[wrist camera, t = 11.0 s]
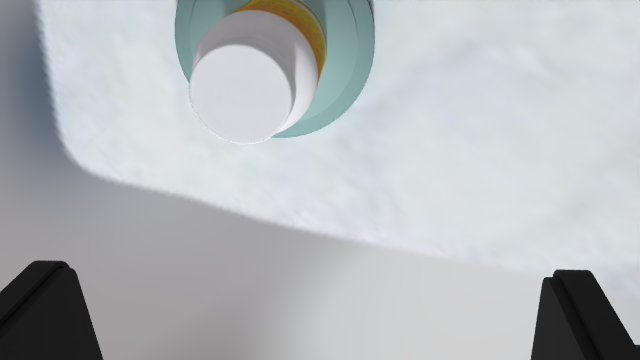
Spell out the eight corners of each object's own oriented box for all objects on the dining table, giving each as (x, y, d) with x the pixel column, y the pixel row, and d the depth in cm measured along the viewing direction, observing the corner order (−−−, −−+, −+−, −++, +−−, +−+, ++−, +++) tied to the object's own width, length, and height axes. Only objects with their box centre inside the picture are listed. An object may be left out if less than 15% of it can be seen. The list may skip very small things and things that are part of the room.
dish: (371, -76, 27) (371, -76, 26) (376, 128, 31) (377, 135, 30) (163, -60, 28) (154, -59, 27) (198, 135, 33) (192, 142, 31)
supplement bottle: (250, -26, 27) (194, -4, 18) (344, 19, 28) (334, 62, 19) (216, 67, 29) (152, 127, 21) (304, 108, 30) (278, 182, 21)
